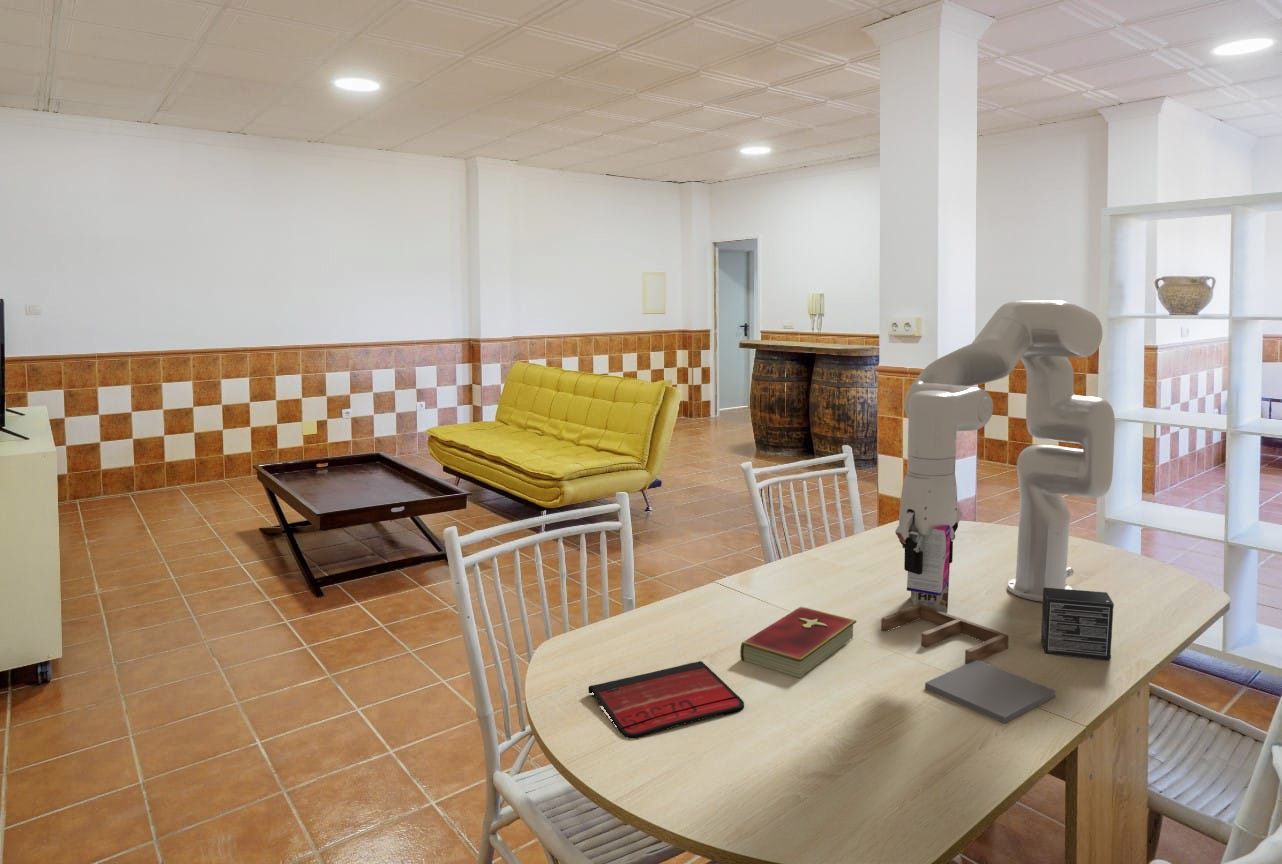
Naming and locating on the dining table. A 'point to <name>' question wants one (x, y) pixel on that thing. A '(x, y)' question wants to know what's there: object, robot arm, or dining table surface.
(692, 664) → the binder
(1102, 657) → the small box
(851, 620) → the hardcover book
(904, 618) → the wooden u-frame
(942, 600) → the coffee box
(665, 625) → the dining table surface
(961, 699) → the slate board
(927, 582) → the supplement box
